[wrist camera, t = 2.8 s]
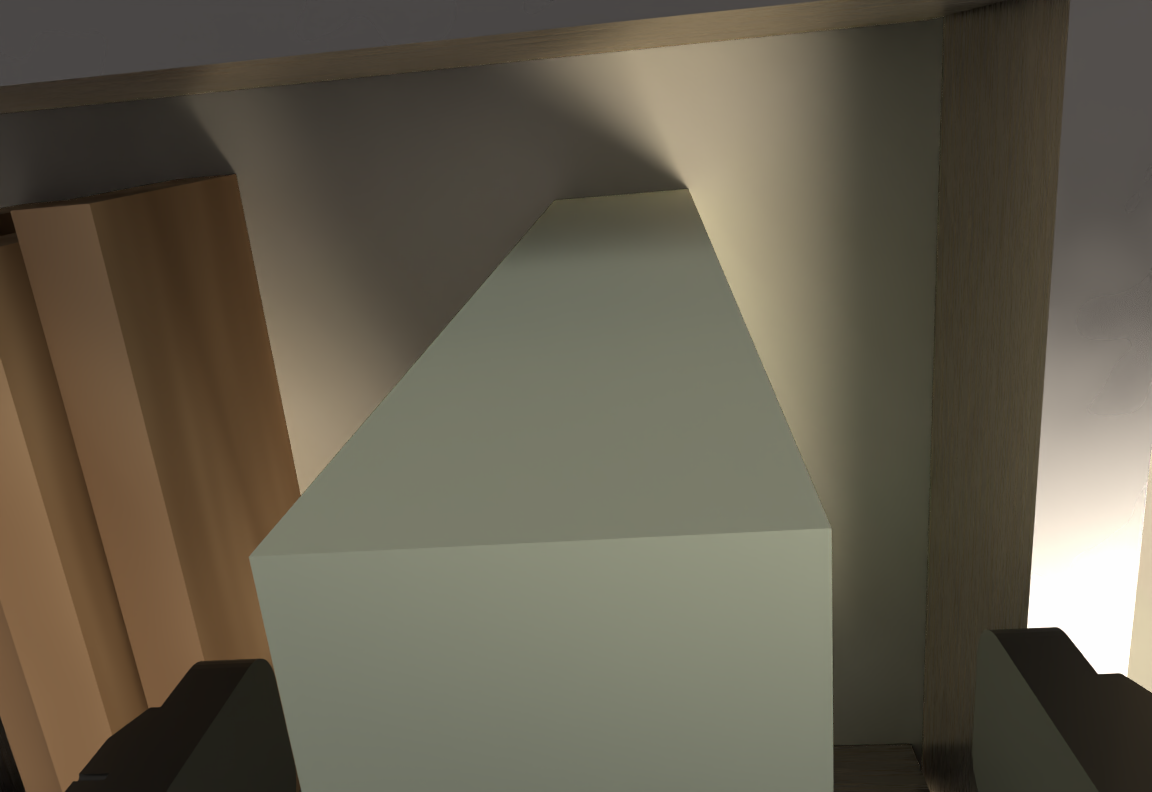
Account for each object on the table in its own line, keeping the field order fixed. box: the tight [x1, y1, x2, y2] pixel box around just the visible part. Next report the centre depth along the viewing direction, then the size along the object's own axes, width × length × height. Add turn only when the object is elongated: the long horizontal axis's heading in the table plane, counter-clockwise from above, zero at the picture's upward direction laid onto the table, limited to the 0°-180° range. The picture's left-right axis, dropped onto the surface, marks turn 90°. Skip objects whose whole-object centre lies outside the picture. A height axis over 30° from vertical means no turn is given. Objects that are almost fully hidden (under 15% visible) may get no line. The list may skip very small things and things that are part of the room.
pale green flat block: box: [249, 189, 833, 792], centre depth 12 cm, size 2×10×14 cm, turn 5°
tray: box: [0, 0, 1152, 792], centre depth 16 cm, size 22×18×7 cm
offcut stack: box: [0, 174, 301, 792], centre depth 17 cm, size 4×12×6 cm, turn 5°
